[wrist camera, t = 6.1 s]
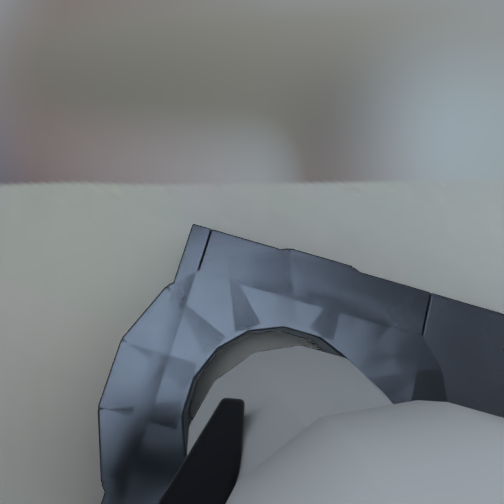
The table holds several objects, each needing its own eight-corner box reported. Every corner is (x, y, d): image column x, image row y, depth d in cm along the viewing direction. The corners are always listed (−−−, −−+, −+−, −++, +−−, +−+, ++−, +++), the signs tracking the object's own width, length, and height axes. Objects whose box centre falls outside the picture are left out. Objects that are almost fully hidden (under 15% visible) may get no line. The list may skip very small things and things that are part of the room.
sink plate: (713, 384, 21) (775, 388, 19) (687, 725, 19) (756, 782, 16) (172, 227, 22) (164, 211, 20) (68, 535, 19) (44, 561, 17)
